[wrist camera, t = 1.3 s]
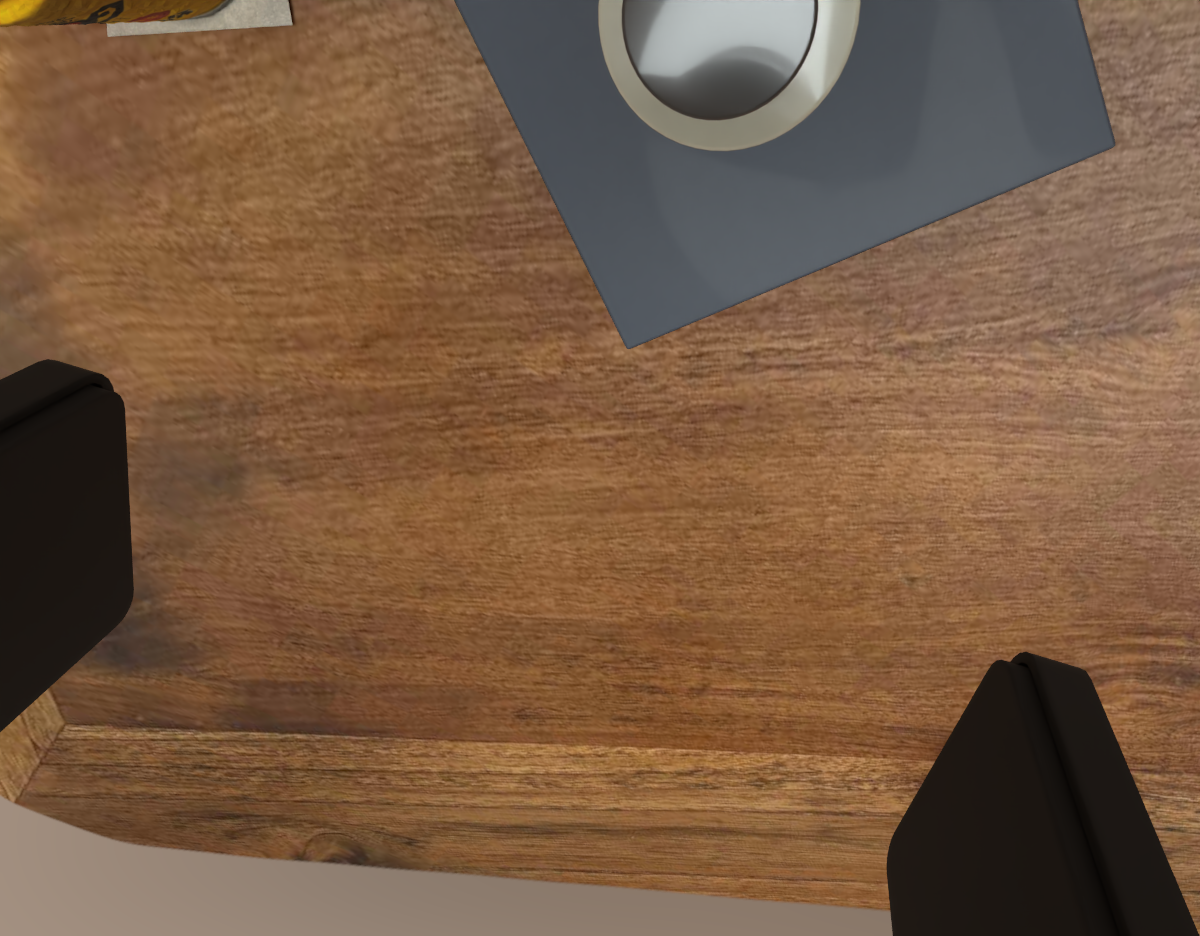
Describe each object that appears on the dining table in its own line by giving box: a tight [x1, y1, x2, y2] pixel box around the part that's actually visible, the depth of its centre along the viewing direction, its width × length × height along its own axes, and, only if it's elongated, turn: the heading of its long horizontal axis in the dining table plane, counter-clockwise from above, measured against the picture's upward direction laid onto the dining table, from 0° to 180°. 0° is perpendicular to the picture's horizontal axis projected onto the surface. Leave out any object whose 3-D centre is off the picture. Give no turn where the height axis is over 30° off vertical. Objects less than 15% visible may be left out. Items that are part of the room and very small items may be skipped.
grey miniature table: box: [454, 0, 1115, 349], centre depth 26 cm, size 14×14×6 cm
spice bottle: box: [598, 0, 861, 151], centre depth 18 cm, size 4×4×11 cm
